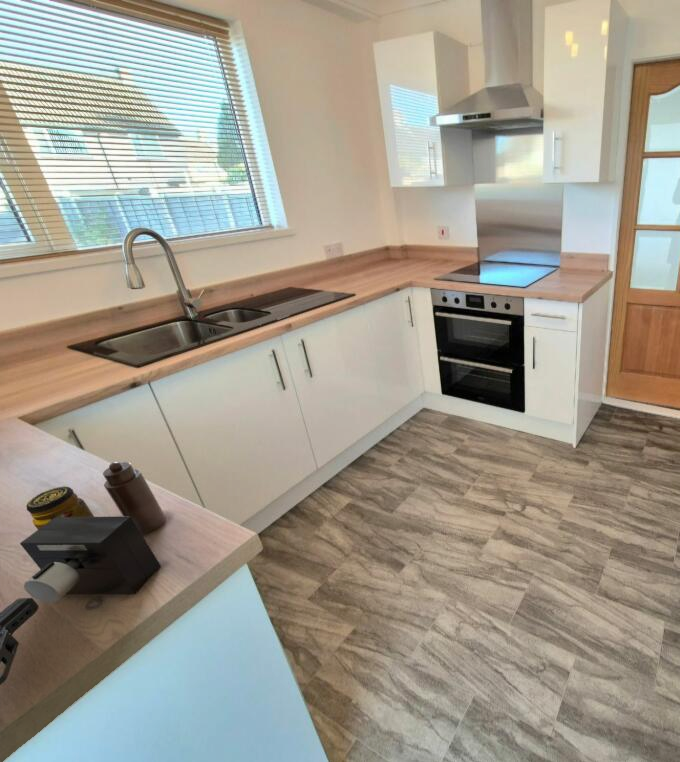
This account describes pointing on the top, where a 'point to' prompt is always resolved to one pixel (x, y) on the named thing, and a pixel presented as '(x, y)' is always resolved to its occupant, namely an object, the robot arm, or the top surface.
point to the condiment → (56, 506)
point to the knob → (53, 581)
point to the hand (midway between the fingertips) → (30, 602)
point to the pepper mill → (133, 496)
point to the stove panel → (96, 552)
